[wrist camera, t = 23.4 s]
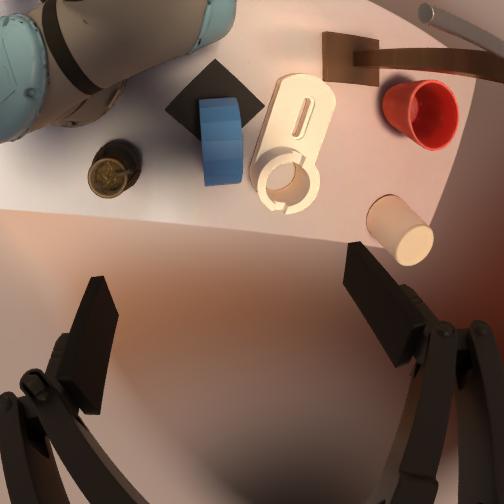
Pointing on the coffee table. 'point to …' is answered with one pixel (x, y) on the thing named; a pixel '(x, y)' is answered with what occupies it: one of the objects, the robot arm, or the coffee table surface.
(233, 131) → the tape roll
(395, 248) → the beige cylinder
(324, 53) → the peg stand
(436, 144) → the flower pot
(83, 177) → the coffee table surface
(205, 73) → the mat
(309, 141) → the bracket
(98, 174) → the mate gourd
